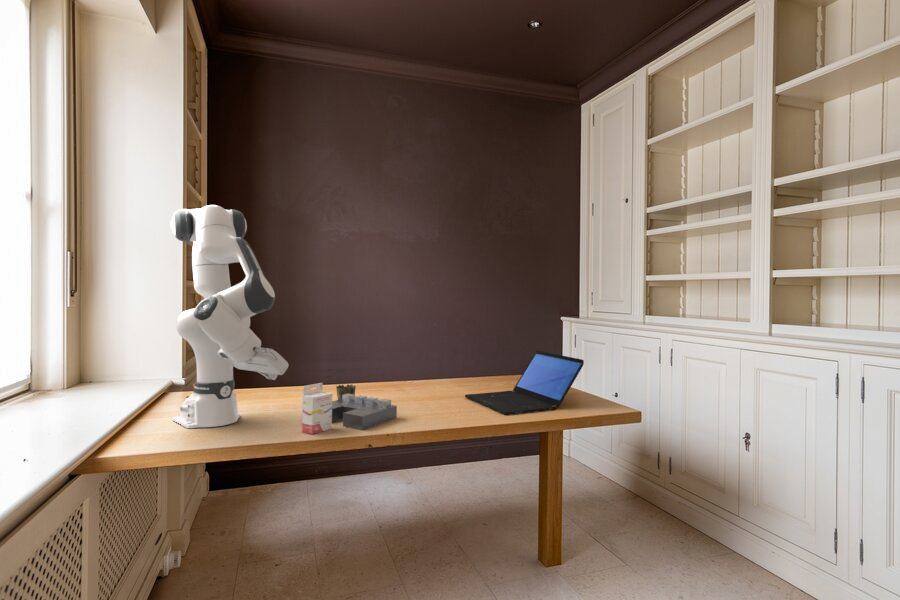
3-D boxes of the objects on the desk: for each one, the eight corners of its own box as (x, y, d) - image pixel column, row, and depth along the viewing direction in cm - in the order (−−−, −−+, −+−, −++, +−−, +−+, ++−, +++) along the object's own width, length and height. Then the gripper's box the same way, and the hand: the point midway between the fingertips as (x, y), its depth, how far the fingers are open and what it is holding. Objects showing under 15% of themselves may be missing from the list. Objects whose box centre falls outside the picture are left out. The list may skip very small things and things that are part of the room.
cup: (336, 408, 184) (336, 388, 184) (335, 404, 192) (335, 384, 192) (356, 407, 186) (356, 387, 186) (354, 403, 194) (354, 383, 193)
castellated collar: (310, 419, 168) (310, 401, 168) (346, 409, 184) (346, 392, 183) (362, 430, 156) (362, 410, 156) (396, 418, 171) (396, 400, 171)
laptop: (464, 398, 207) (464, 353, 207) (537, 392, 222) (537, 350, 222) (504, 417, 177) (504, 364, 176) (585, 408, 192) (586, 359, 192)
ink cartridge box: (312, 434, 150) (313, 387, 150) (301, 432, 153) (301, 386, 153) (332, 428, 157) (333, 383, 157) (321, 426, 160) (322, 382, 160)
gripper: (275, 340, 128) (304, 372, 137) (228, 336, 139) (257, 366, 147) (261, 358, 124) (291, 390, 133) (213, 353, 135) (244, 382, 143)
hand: (272, 377), depth 140 cm, fingers closed
